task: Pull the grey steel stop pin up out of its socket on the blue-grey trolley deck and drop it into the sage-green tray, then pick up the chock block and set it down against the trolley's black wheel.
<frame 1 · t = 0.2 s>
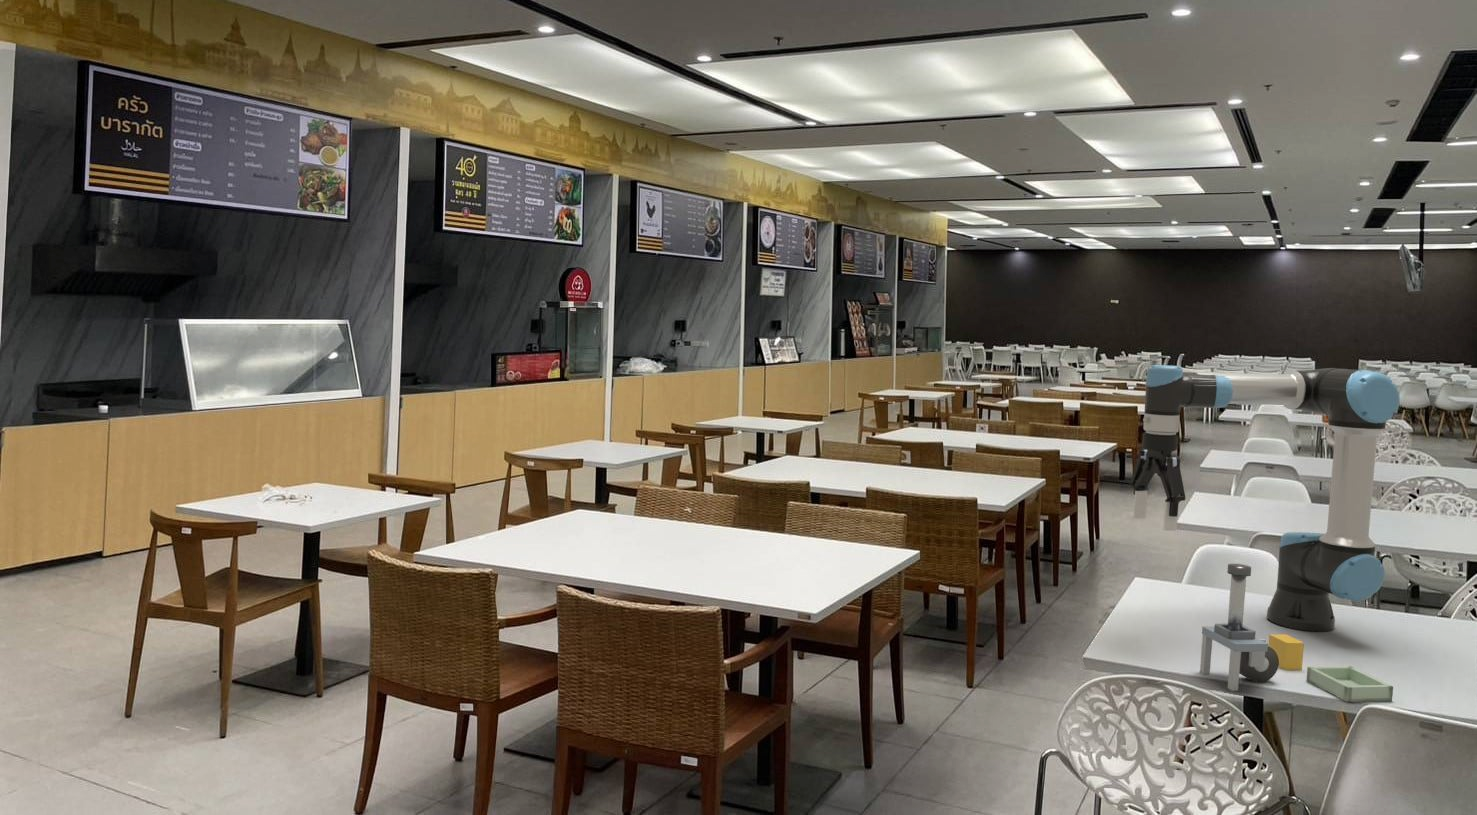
hand: (1154, 524, 243), 28 cm above the table, fingers open, 13 cm apart
cart: (1255, 680, 221), on the table
pin: (1234, 634, 219), point 10 cm above the table, touching cart
tray: (1348, 690, 216), on the table
chock: (1284, 665, 231), on the table
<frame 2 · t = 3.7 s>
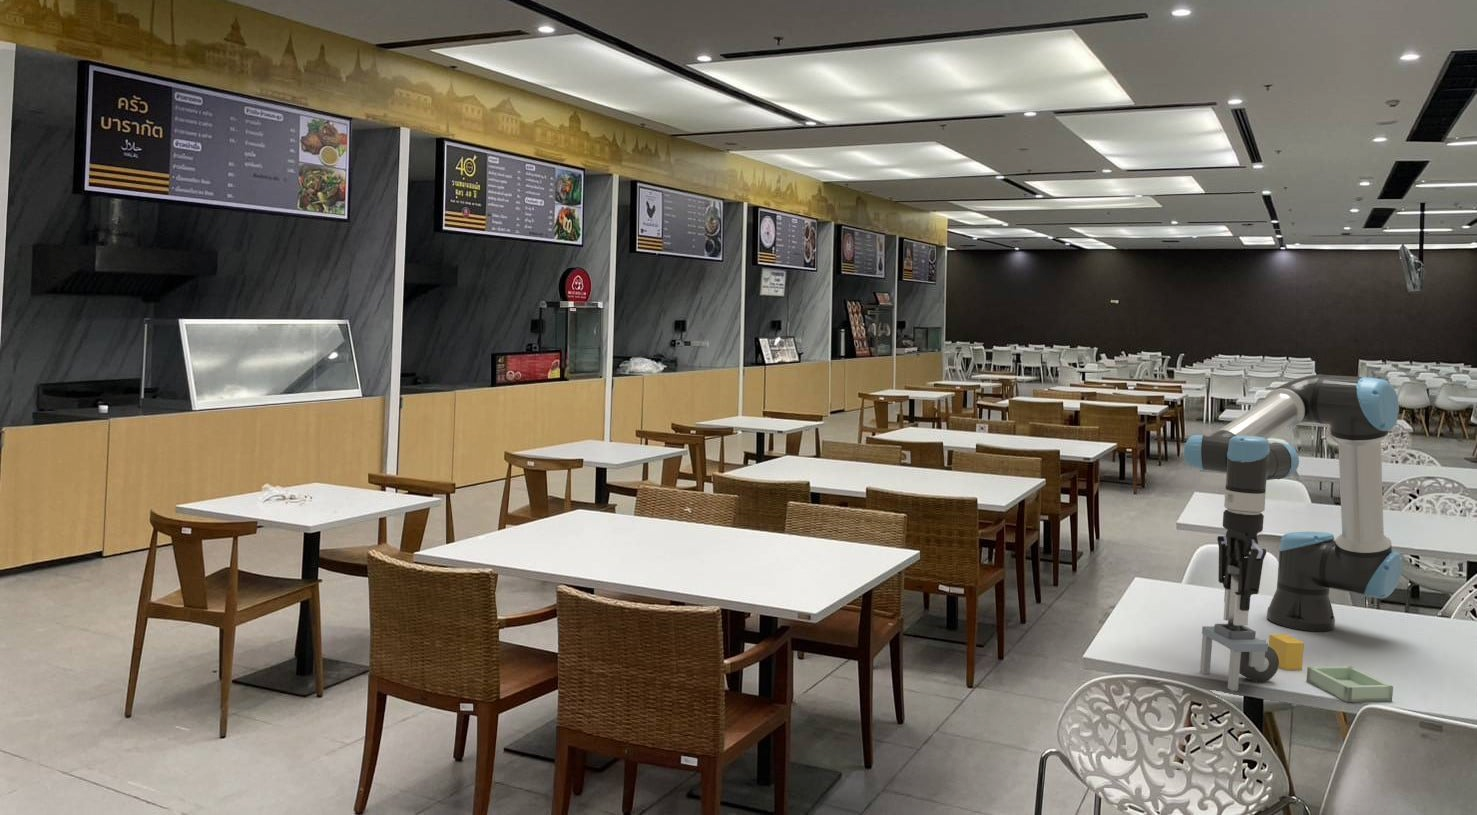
hand: (1235, 622, 219), 13 cm above the table, fingers closed on pin, 3 cm apart
pin: (1234, 634, 219), point 10 cm above the table, touching cart, gripper
everything else where it was.
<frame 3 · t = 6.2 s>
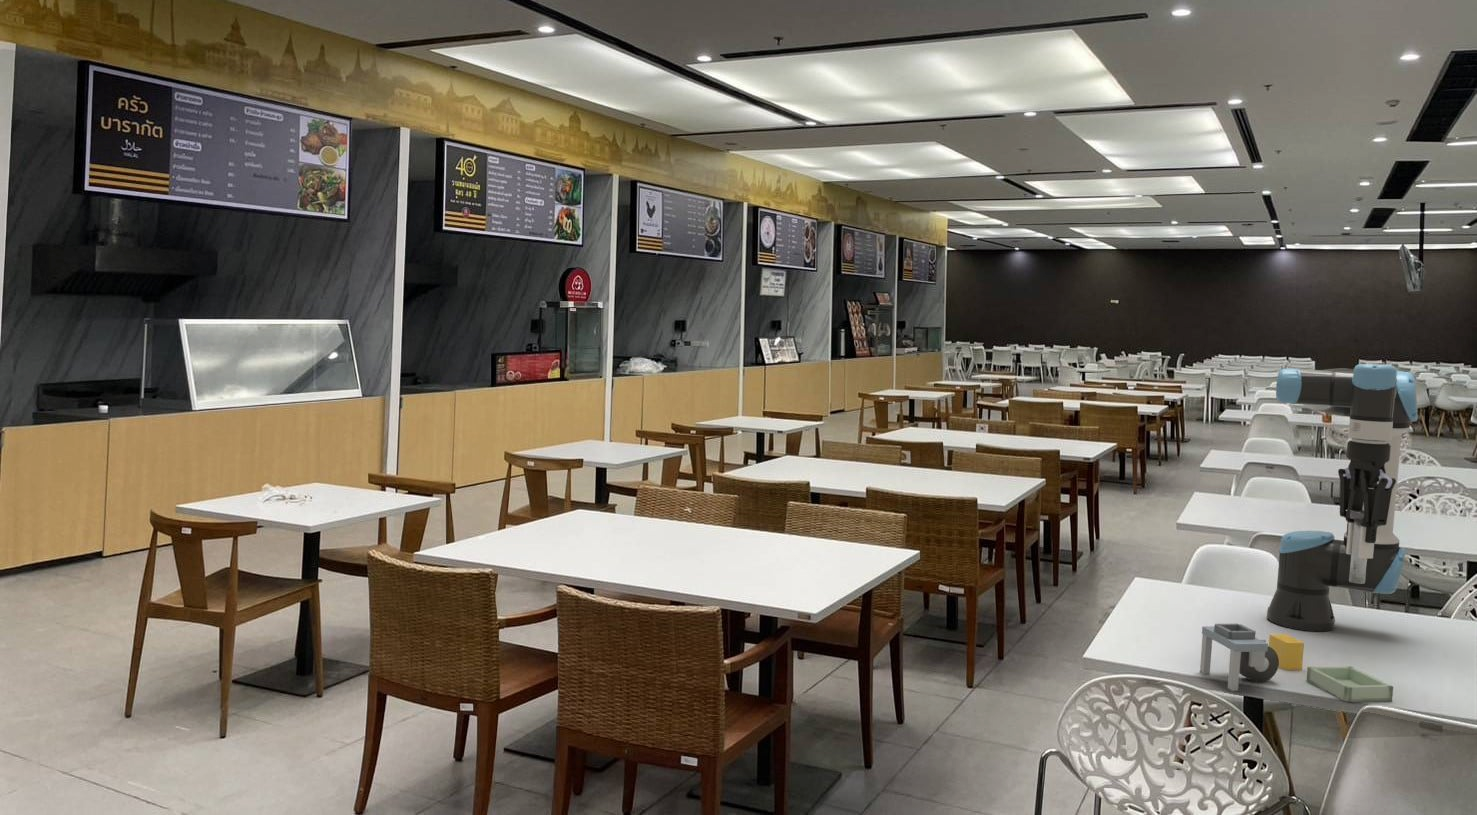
hand: (1359, 555, 213), 28 cm above the table, fingers closed on pin, 3 cm apart
pin: (1356, 581, 214), point 23 cm above the table, touching gripper
everything else where it was.
when the fingers open (6 cm above the table, at t = 9.0 s): pin stays where it is, resting on tray.
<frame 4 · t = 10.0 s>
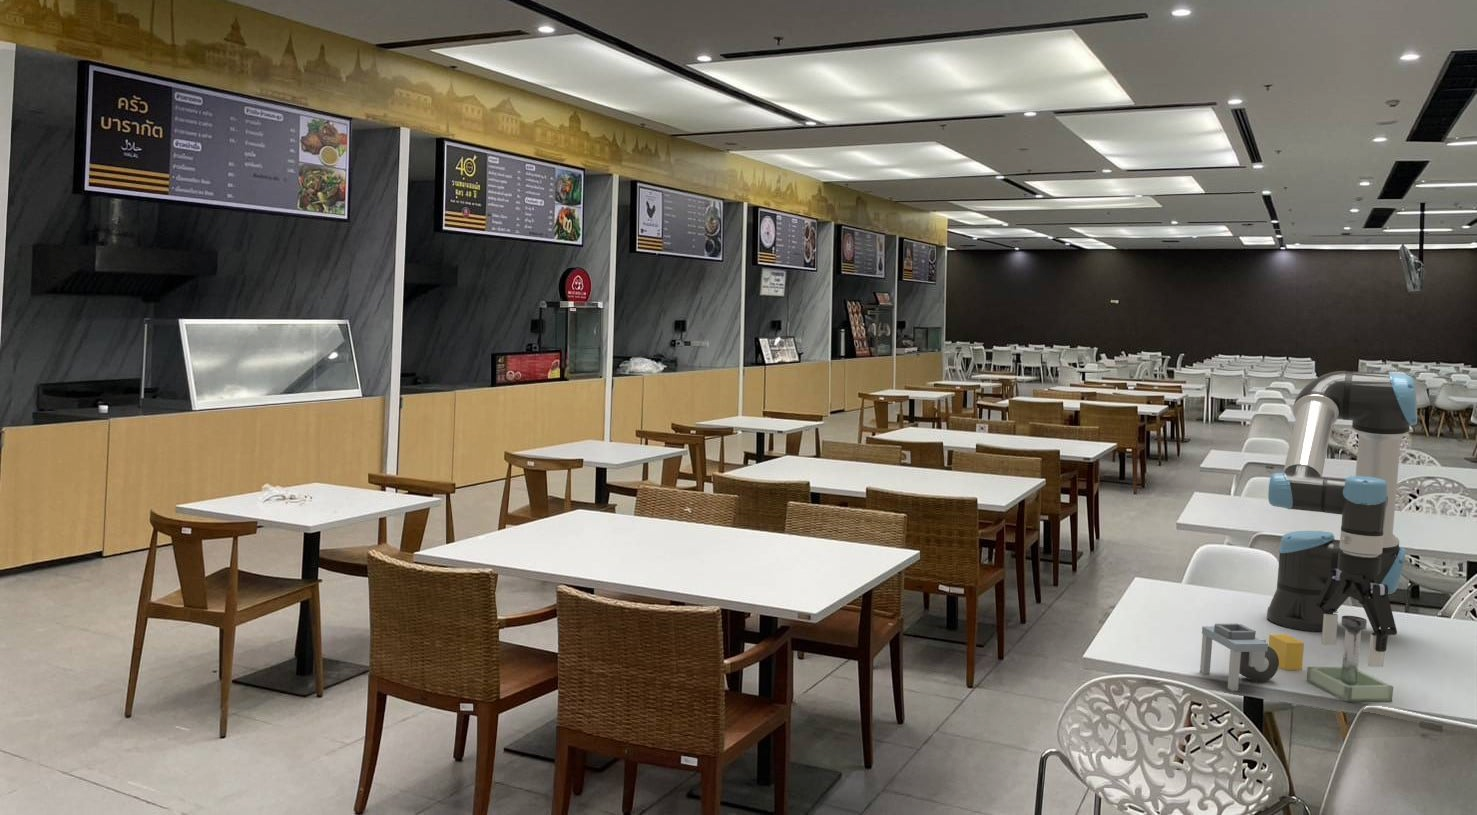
hand: (1351, 655, 215), 8 cm above the table, fingers open, 13 cm apart
pin: (1348, 688, 216), point 1 cm above the table, touching tray
everything else where it was.
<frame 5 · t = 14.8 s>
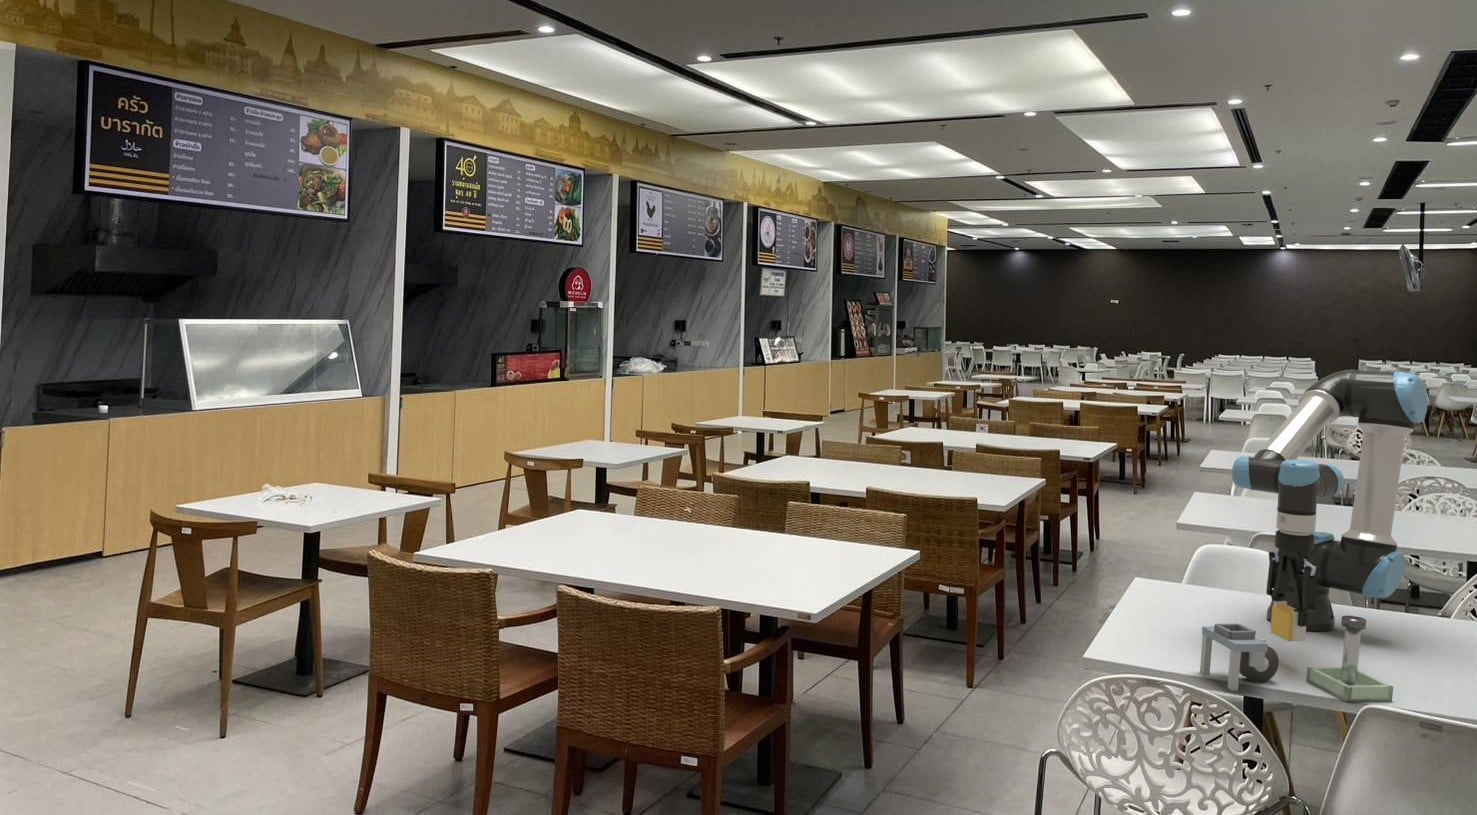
hand: (1288, 634, 231), 7 cm above the table, fingers closed on chock, 6 cm apart
chock: (1287, 636, 231), point 6 cm above the table, touching gripper
everything else where it was.
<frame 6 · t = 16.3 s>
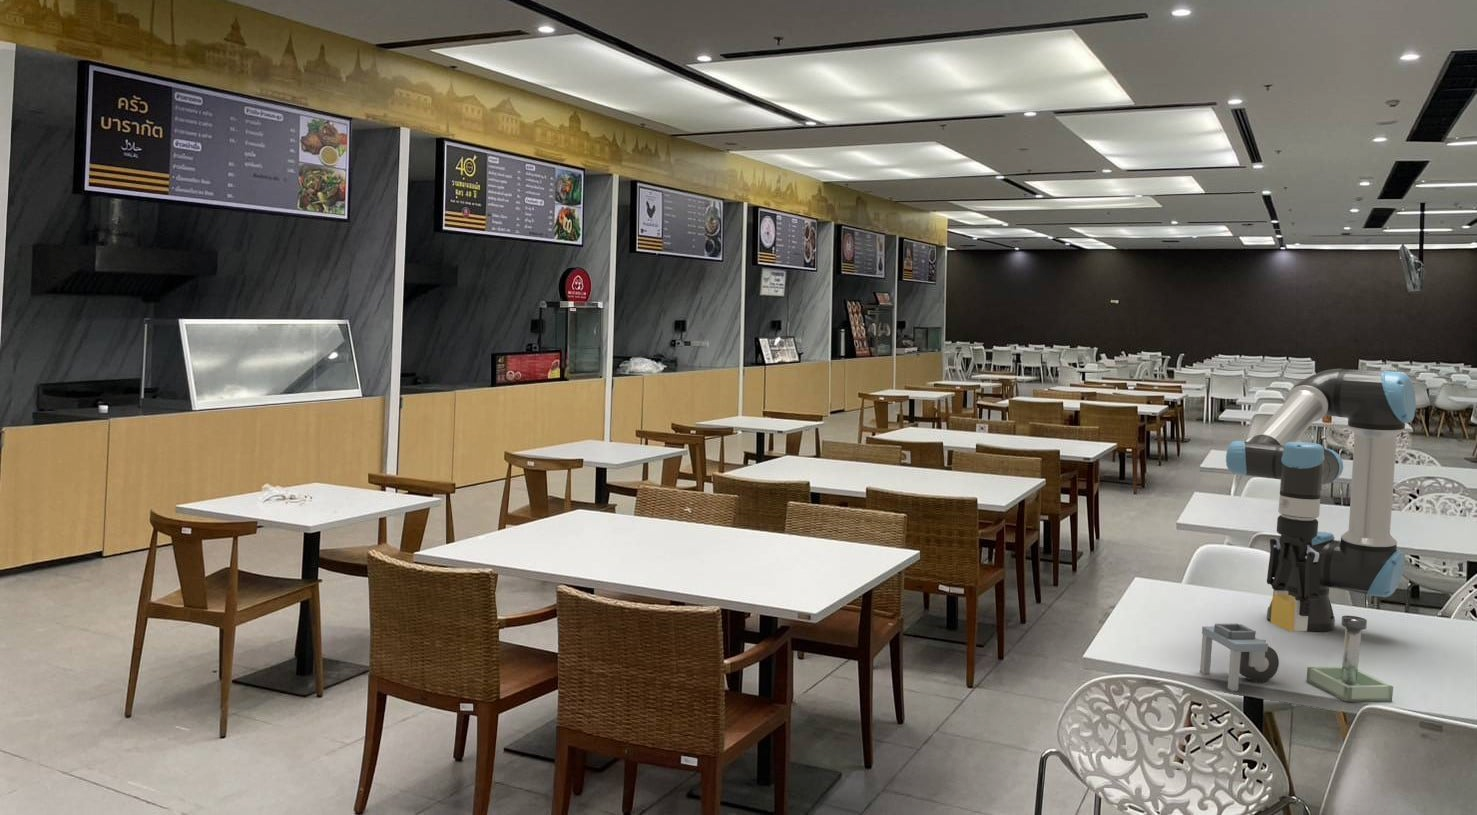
hand: (1289, 625, 221), 12 cm above the table, fingers closed on chock, 6 cm apart
chock: (1288, 626, 221), point 11 cm above the table, touching gripper
everything else where it was.
when the fingers open (0 cm above the table, at t = 18.4 s): chock stays where it is, on the table.
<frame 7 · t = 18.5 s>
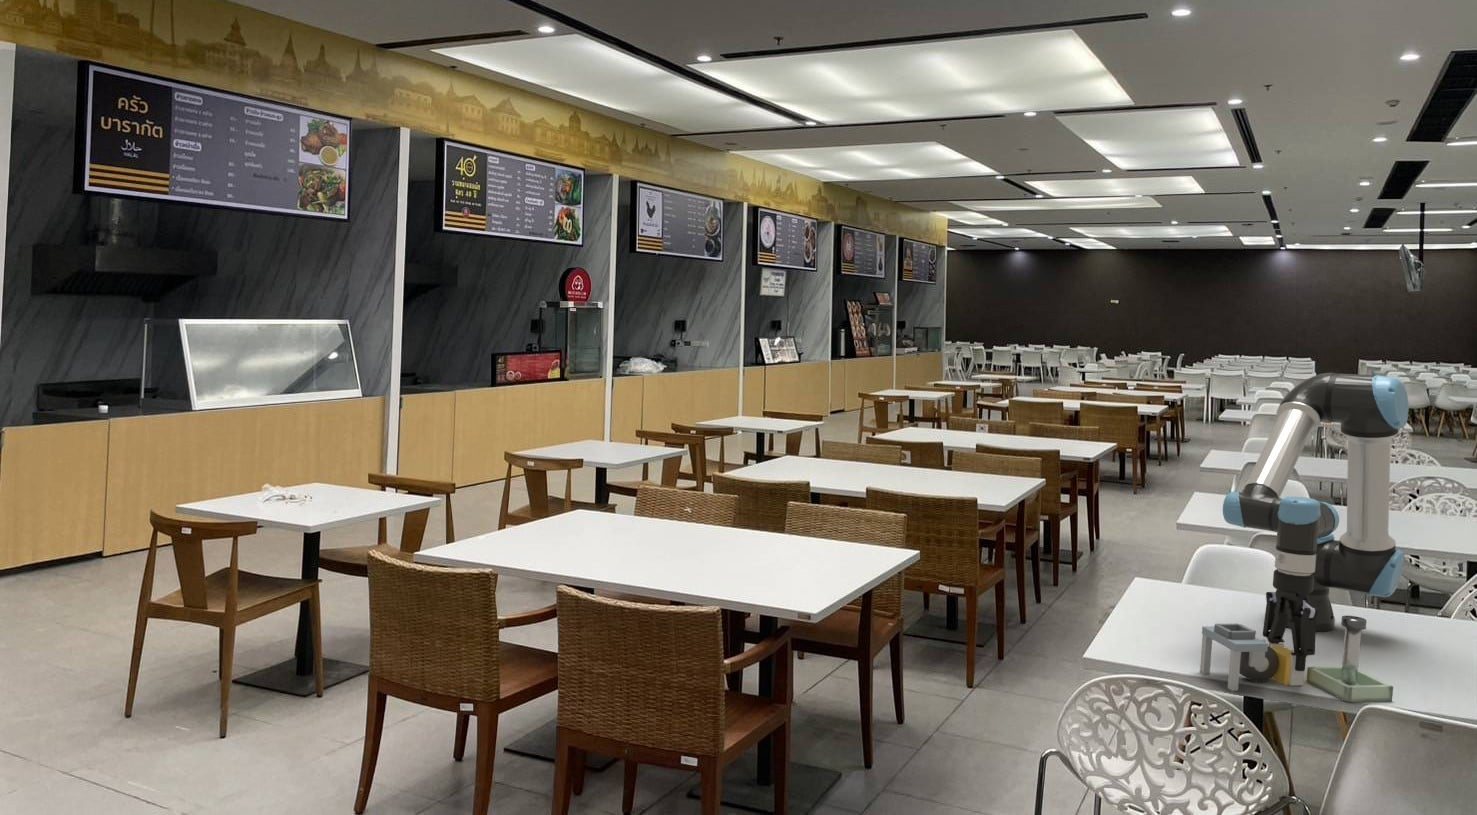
hand: (1284, 678, 222), 0 cm above the table, fingers open, 6 cm apart
chock: (1283, 679, 222), on the table, touching gripper
everything else where it was.
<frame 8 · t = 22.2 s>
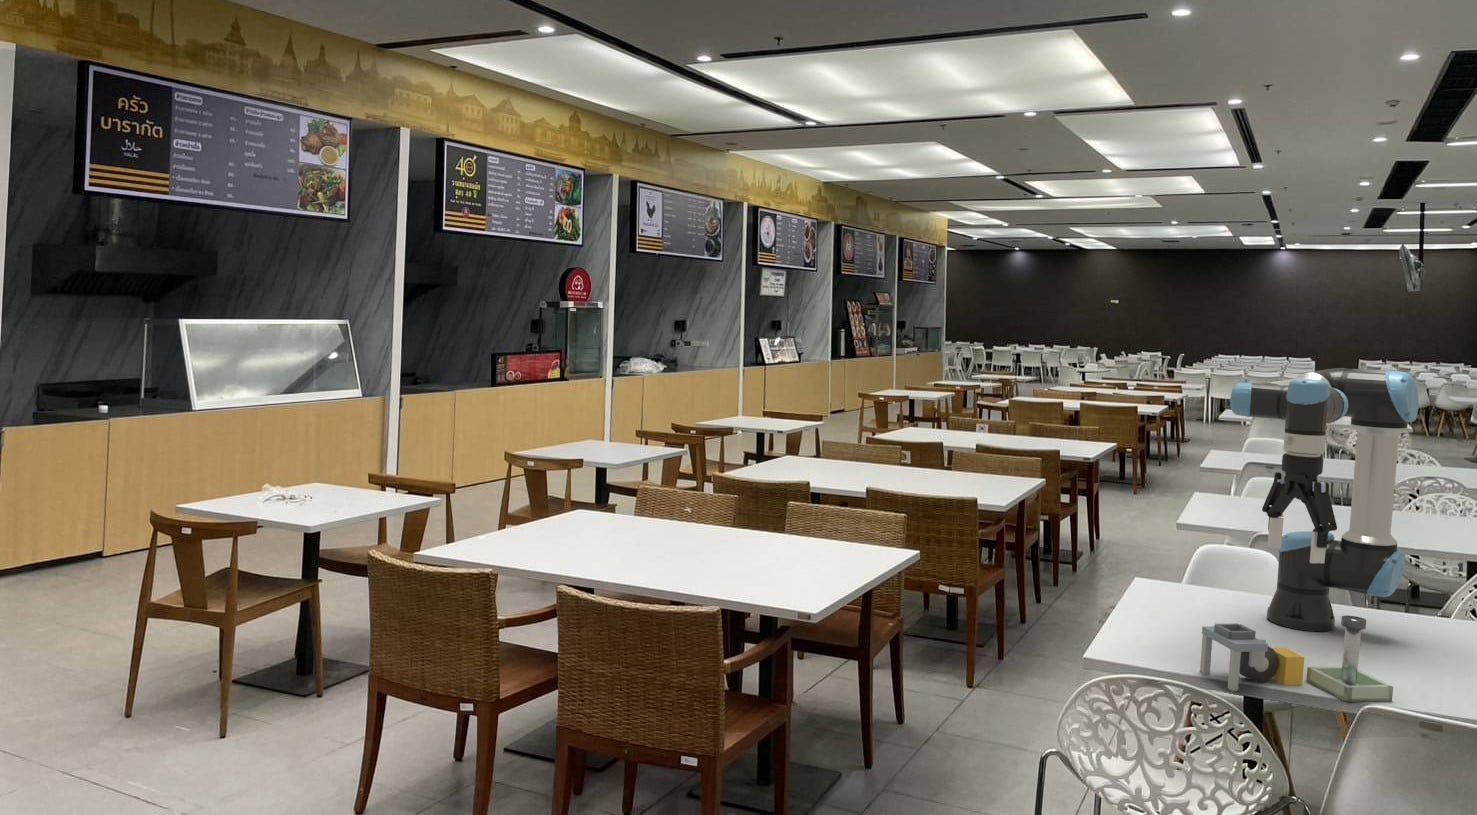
hand: (1294, 555, 219), 27 cm above the table, fingers open, 13 cm apart
chock: (1283, 680, 222), on the table
everything else where it was.
at the end: pin inside the target area on the tray (0.1 cm from its centre), point 0.6 cm above the tray's base; chock 1.0 cm from the target spot on the cart, point 0.0 cm above the cart's base; chock tilted 0° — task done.
